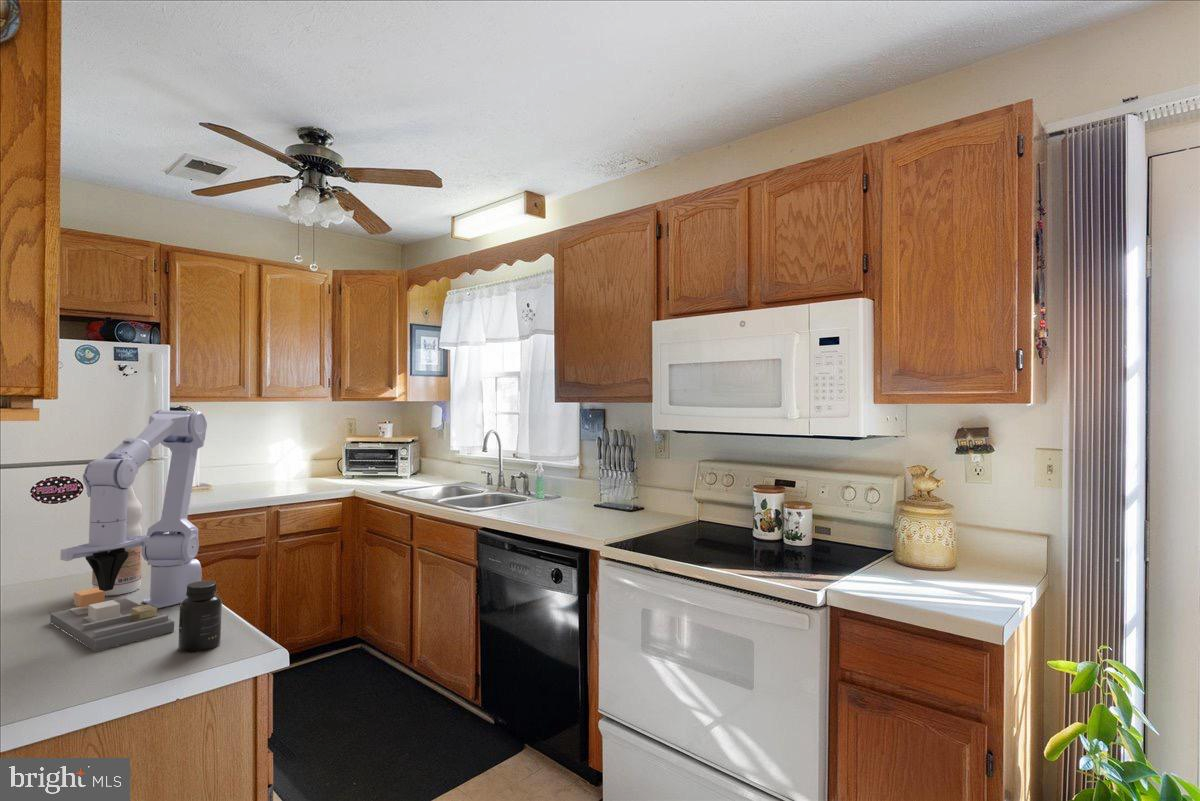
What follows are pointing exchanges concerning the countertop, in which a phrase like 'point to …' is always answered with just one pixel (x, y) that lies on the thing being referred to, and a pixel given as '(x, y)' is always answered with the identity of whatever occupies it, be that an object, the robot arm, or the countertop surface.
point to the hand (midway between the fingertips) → (106, 589)
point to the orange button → (88, 597)
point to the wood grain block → (143, 612)
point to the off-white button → (104, 610)
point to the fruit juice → (132, 566)
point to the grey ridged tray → (110, 626)
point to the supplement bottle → (200, 618)
